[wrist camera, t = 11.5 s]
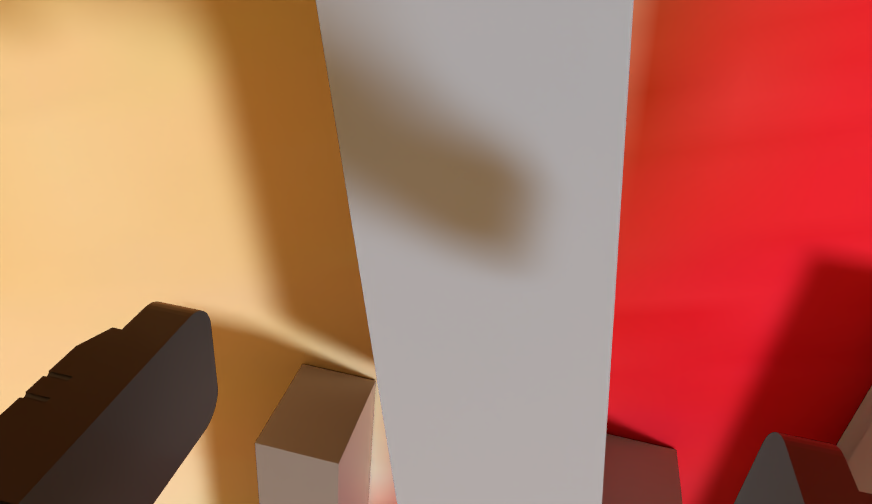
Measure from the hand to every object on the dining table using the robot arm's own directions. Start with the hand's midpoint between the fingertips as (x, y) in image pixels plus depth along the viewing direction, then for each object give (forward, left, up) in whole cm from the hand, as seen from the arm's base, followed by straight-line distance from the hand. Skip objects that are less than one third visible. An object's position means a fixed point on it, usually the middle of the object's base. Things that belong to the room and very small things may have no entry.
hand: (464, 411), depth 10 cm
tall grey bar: (-3, -1, -9) cm, 9 cm away
